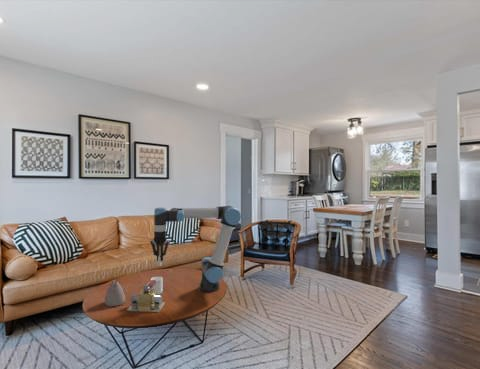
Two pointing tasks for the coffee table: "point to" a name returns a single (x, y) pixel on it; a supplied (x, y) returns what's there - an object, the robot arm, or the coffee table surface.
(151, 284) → the lever
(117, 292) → the sculpture
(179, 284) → the coffee table surface
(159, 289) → the mug
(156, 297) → the valve body
